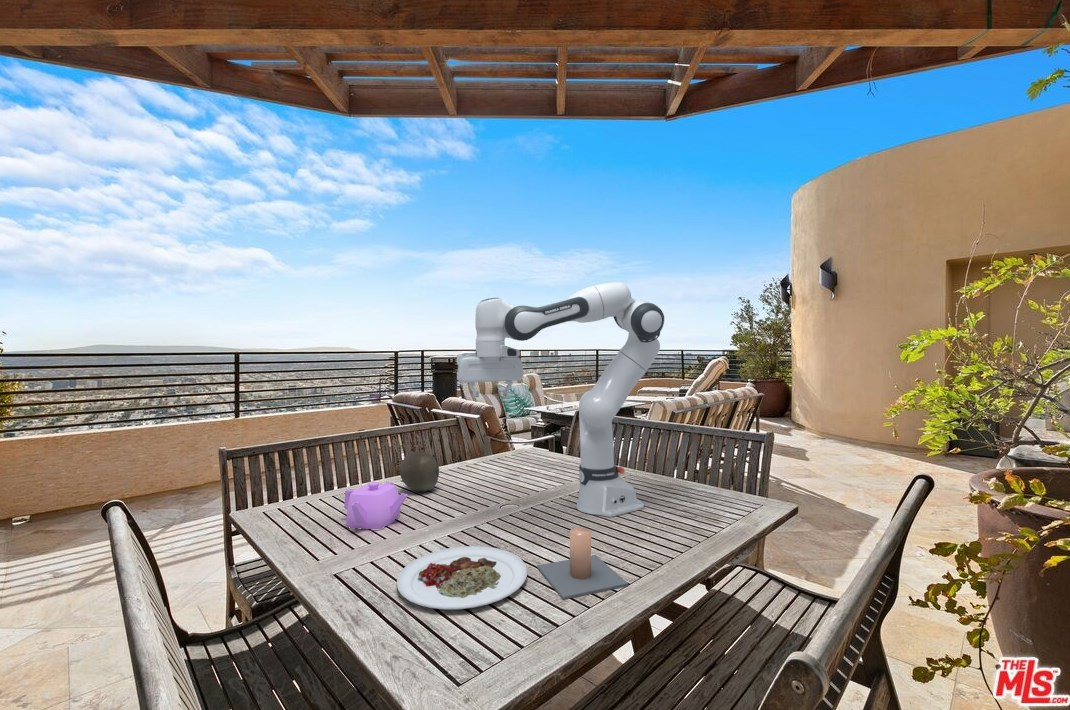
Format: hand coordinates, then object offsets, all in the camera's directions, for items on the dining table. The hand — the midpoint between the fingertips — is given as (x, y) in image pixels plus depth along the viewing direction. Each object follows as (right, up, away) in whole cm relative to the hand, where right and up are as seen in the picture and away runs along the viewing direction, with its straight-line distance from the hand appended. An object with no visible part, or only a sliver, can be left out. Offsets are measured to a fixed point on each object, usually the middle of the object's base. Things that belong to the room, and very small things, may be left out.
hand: (491, 396), depth 148 cm
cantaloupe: (-30, -39, +34) cm, 60 cm away
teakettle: (-36, -40, +3) cm, 54 cm away
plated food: (-3, -40, -35) cm, 53 cm away
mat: (+24, -39, -34) cm, 58 cm away
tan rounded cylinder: (+24, -39, -34) cm, 57 cm away
